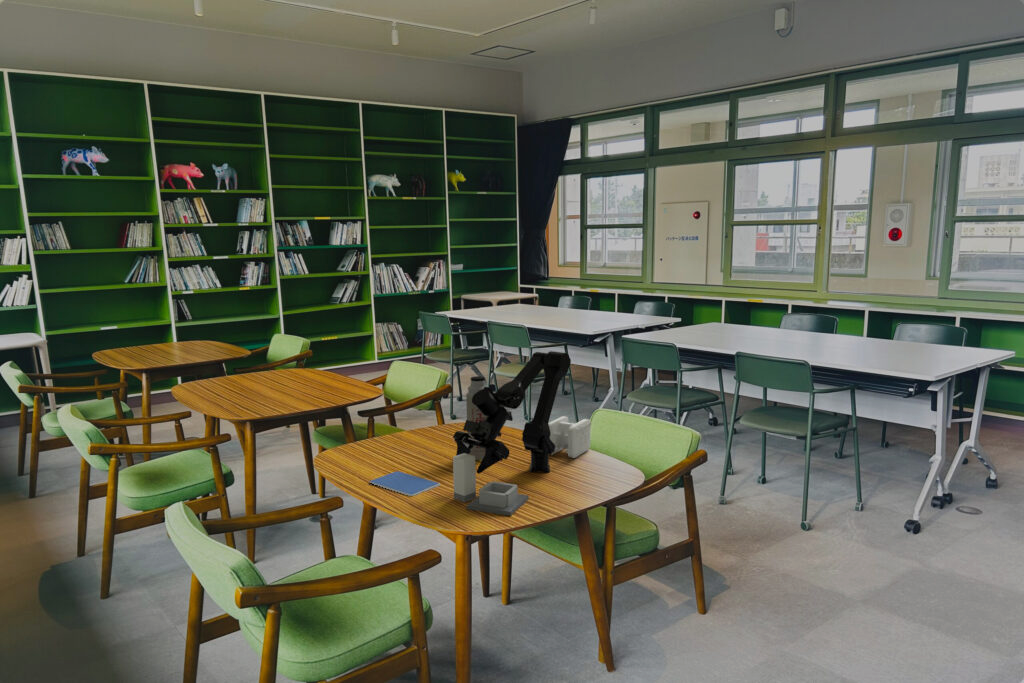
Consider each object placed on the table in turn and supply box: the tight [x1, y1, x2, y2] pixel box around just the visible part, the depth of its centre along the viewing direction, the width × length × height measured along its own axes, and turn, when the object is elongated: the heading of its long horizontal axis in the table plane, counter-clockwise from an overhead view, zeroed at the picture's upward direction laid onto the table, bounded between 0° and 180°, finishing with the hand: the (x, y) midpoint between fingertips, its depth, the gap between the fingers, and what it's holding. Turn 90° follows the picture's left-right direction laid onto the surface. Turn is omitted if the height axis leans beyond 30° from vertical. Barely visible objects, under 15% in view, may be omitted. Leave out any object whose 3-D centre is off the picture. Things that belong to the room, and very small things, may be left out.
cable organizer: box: [548, 415, 592, 459], centre depth 235 cm, size 15×11×12 cm
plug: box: [452, 453, 477, 503], centre depth 193 cm, size 4×4×12 cm
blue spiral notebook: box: [368, 470, 441, 497], centre depth 206 cm, size 19×13×1 cm, turn 53°
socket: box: [466, 481, 530, 516], centre depth 189 cm, size 13×13×5 cm
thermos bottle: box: [465, 375, 488, 462], centre depth 229 cm, size 8×8×28 cm
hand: (466, 469), depth 193 cm, fingers open, 9 cm apart
